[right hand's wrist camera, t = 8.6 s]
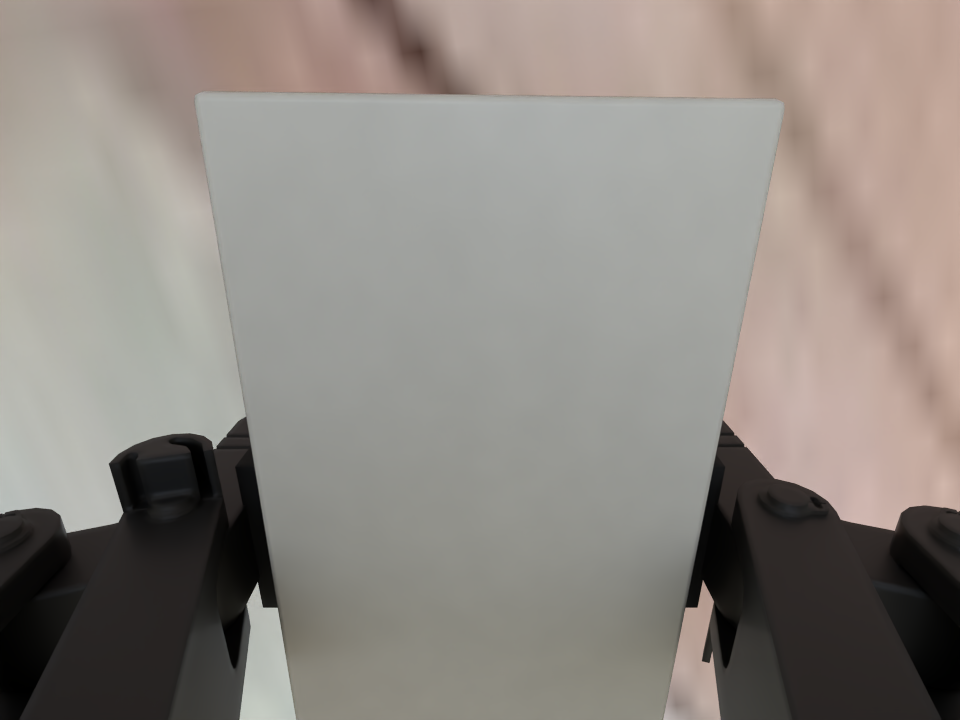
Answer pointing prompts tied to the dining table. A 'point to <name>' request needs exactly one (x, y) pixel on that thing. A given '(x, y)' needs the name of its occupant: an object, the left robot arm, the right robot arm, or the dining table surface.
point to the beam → (484, 382)
